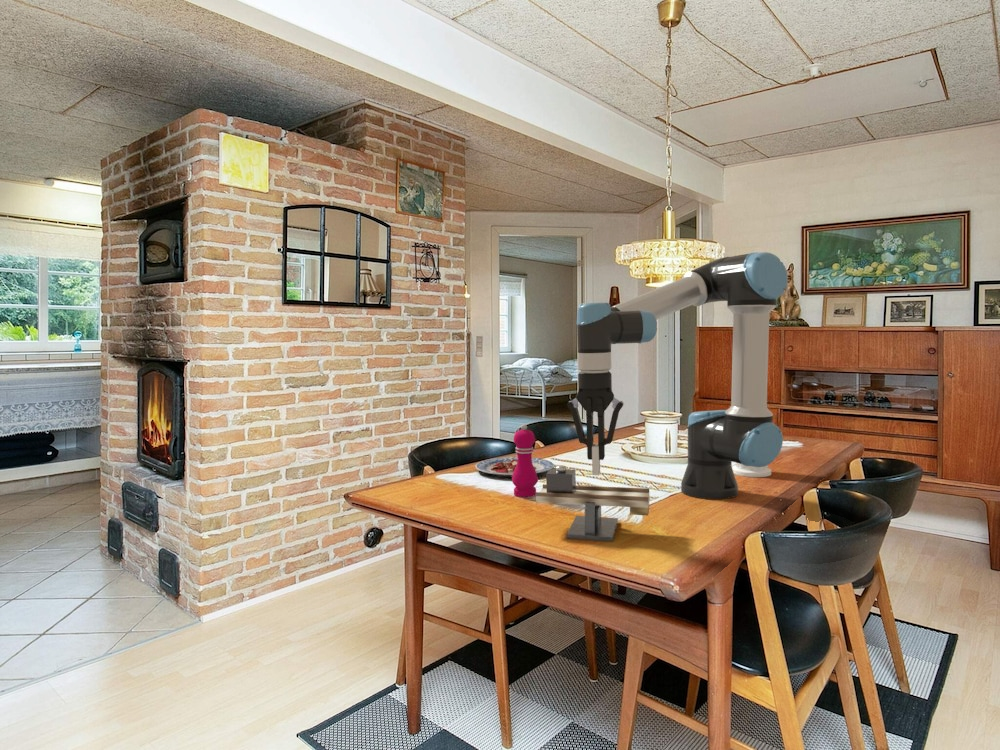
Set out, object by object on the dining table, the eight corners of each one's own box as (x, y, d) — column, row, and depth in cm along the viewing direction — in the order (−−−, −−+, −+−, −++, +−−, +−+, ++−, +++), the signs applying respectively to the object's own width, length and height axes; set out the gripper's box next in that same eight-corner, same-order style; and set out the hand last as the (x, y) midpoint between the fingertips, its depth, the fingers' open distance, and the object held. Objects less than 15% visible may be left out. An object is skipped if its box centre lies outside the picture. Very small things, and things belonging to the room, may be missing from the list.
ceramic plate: (460, 470, 211) (460, 461, 211) (522, 459, 226) (522, 451, 226) (505, 485, 190) (504, 475, 190) (570, 472, 205) (570, 463, 205)
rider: (575, 490, 150) (575, 464, 149) (572, 496, 145) (572, 469, 144) (550, 489, 151) (550, 463, 151) (546, 494, 146) (546, 468, 146)
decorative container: (764, 479, 192) (764, 420, 191) (726, 473, 199) (726, 417, 198) (776, 472, 201) (777, 415, 199) (739, 467, 208) (740, 412, 207)
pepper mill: (535, 498, 174) (535, 426, 173) (510, 497, 176) (508, 426, 174) (539, 491, 181) (538, 422, 180) (514, 490, 183) (513, 422, 181)
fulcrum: (617, 522, 152) (617, 489, 151) (612, 541, 139) (612, 505, 138) (576, 519, 155) (576, 487, 154) (566, 538, 141) (566, 503, 141)
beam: (649, 506, 147) (649, 488, 146) (648, 516, 139) (647, 497, 139) (543, 501, 153) (543, 484, 153) (536, 511, 146) (536, 492, 145)
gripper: (625, 369, 146) (626, 470, 148) (568, 370, 149) (570, 468, 151) (622, 372, 138) (623, 478, 140) (563, 372, 142) (565, 476, 144)
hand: (596, 473), depth 146 cm, fingers closed
